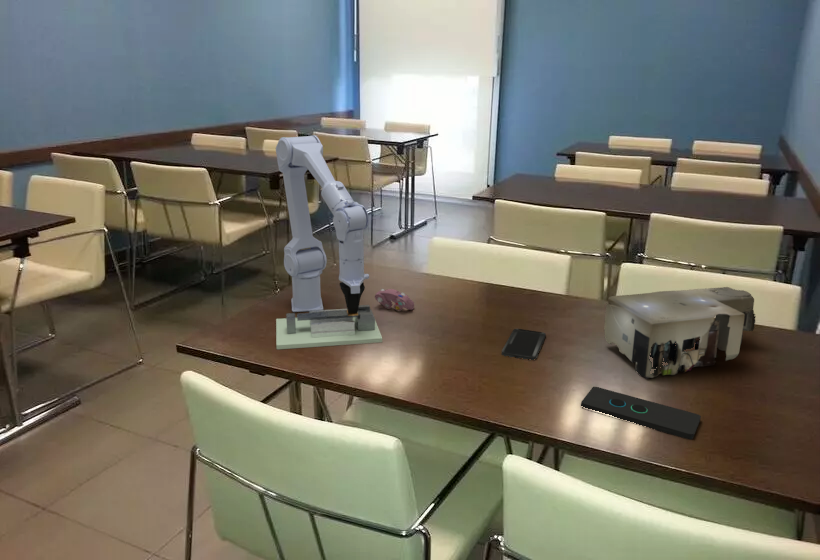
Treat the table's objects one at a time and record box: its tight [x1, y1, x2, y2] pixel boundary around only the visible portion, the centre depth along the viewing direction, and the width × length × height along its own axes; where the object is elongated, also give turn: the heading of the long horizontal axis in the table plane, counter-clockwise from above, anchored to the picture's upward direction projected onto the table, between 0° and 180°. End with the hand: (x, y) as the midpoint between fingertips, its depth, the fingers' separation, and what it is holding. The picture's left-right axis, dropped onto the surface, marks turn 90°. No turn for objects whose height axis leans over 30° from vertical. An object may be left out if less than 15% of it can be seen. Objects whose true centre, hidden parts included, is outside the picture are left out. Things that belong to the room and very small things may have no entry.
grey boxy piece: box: [603, 286, 756, 379], centre depth 142 cm, size 18×33×13 cm, turn 104°
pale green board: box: [275, 317, 383, 350], centre depth 154 cm, size 16×24×1 cm, turn 101°
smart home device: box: [580, 386, 702, 440], centre depth 119 cm, size 8×2×20 cm
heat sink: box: [308, 308, 355, 338], centre depth 153 cm, size 10×10×3 cm
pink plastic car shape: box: [374, 288, 415, 312], centre depth 168 cm, size 10×5×7 cm, turn 63°
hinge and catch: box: [285, 304, 376, 334], centre depth 153 cm, size 6×20×4 cm, turn 101°
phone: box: [501, 328, 547, 361], centre depth 148 cm, size 8×1×15 cm
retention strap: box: [296, 310, 367, 321], centre depth 153 cm, size 3×16×1 cm, turn 101°
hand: (352, 312), depth 153 cm, fingers closed, pressing on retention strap
